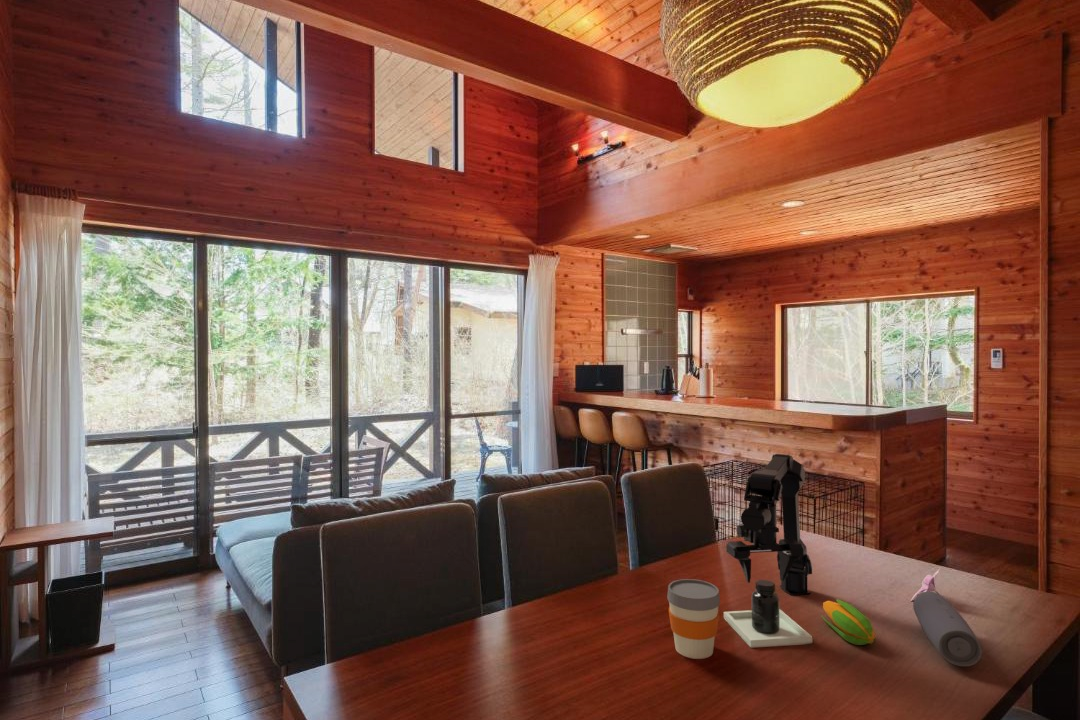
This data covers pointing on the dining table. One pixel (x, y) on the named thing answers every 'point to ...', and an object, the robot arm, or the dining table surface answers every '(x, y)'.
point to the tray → (785, 636)
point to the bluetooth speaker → (947, 629)
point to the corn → (849, 622)
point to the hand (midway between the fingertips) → (765, 581)
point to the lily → (927, 584)
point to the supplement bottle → (765, 608)
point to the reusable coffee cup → (693, 616)
